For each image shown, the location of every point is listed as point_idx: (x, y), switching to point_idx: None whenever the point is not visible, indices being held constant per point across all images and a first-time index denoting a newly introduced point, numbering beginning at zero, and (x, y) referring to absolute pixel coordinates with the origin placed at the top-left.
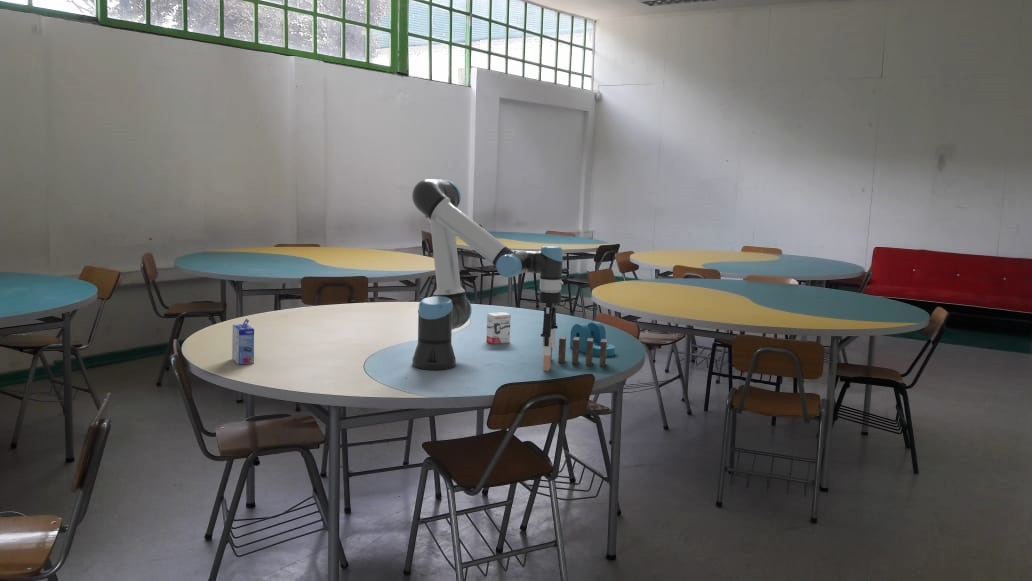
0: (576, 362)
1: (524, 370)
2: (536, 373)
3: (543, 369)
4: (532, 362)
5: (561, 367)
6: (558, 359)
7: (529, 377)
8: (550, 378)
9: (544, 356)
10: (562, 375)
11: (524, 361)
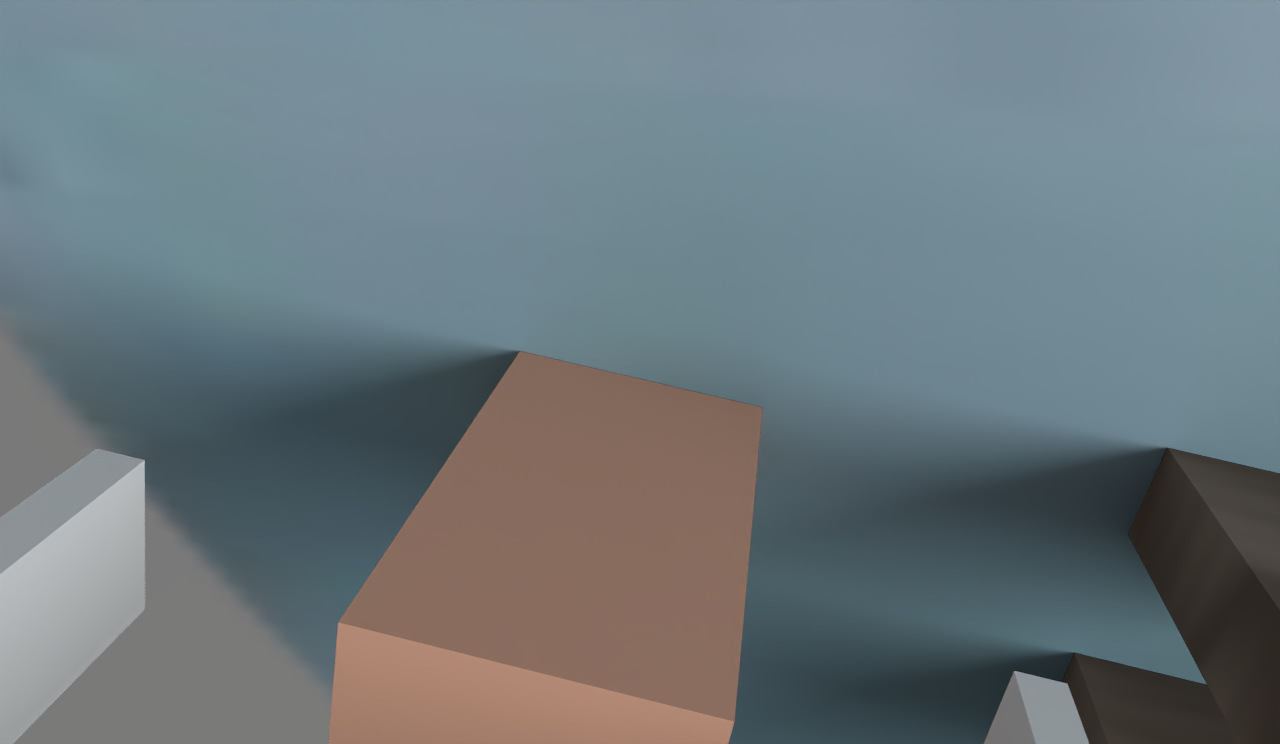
0: None
1: (467, 9)
2: (309, 221)
3: (515, 363)
4: (1130, 215)
5: (765, 651)
6: (1090, 696)
7: (24, 78)
8: (81, 405)
9: (441, 484)
10: (294, 588)
11: (1233, 46)
